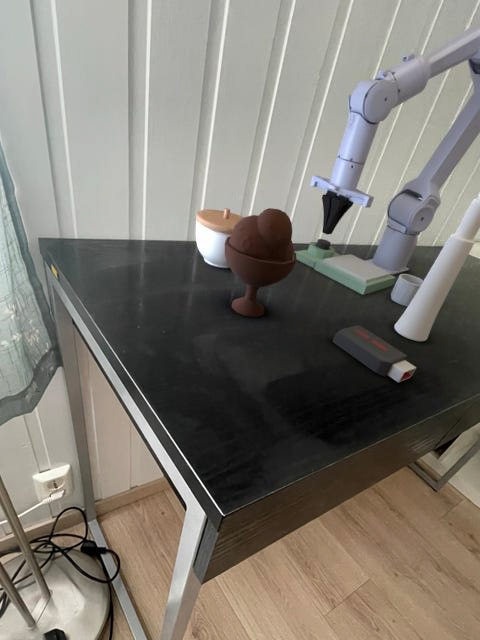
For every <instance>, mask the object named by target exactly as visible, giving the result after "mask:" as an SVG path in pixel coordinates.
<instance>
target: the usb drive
mask: <svg viewBox="0 0 480 640" xmlns="http://www.w3.org/2000/svg"><path fill="white" fill-rule="evenodd" d="M332 343H333V344H335V345H336V346H338V347H339V348H340V349H342V350H343V351H345V352H346V353H347V354H348V355H350V356H351V357H352V358H354V359H356V360H357V361H359V362H360V363H361V364H363V365H364V366H365V367H367V368H368V369H369V370H371V371H372V372H373V373H375V374H378V375H379V376H382V377H387V376H388V377H390V378H391V379H392V380H394V381H395V382H397V383H399V384H400V383H401V382H403V381H406V380H408V379H410V378H411V377H412V376H413V374H414V373H415V371H416V370H417V366H415V365H413V364H412V363H410V362H409V361H407V359H408V355H407V354H405V353H403V352H402V351H401V350H399V349H397V348H396V347H395V346H393V345H391V344H390V343H388V342H387V341H385V340H383V339H382V338H380V336H378V335H376V334H374V333H373V332H371V331H370V330H369V329H367V328H366V327H363V326H362V325H354V326H350V327H349V326H348V327H345V328H341V329H340V330H338V331H337V332H336V333H335V334H334V336H333V339H332Z"/></svg>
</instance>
